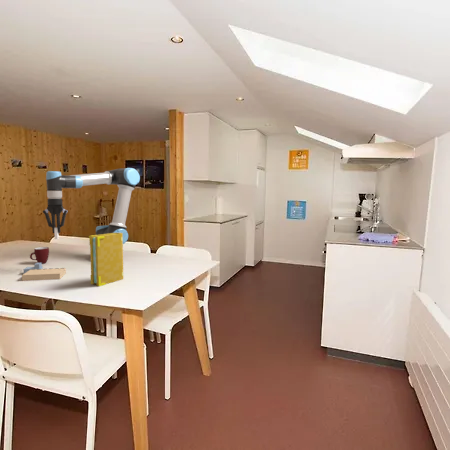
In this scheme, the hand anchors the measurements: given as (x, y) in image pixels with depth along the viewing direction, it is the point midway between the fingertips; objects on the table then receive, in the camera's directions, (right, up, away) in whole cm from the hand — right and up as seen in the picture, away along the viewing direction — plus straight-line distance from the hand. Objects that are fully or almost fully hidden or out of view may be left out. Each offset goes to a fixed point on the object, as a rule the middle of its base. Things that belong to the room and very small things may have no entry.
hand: (56, 238), depth 180 cm
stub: (-11, -20, -5) cm, 23 cm away
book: (+37, -22, -18) cm, 47 cm away
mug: (-21, -17, +18) cm, 33 cm away
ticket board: (0, -21, -11) cm, 23 cm away
